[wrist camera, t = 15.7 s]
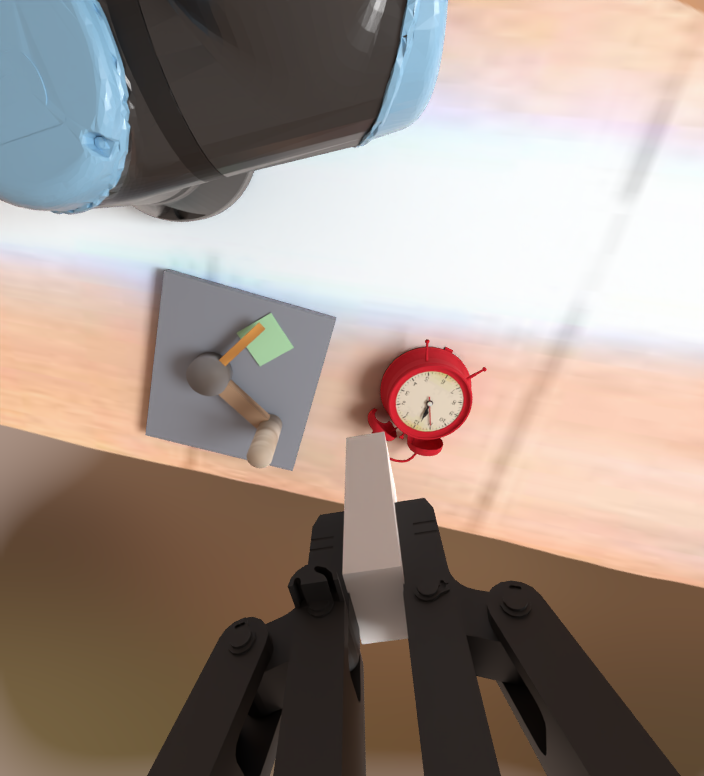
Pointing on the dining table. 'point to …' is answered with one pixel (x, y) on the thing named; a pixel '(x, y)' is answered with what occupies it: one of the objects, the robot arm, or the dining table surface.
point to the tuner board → (262, 383)
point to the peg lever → (237, 397)
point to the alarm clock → (424, 398)
